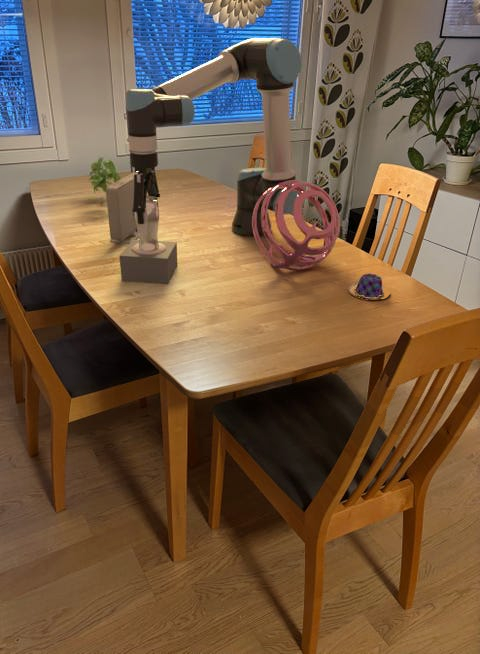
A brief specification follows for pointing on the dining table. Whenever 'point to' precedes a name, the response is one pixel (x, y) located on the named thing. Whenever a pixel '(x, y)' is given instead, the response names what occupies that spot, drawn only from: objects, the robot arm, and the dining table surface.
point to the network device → (121, 210)
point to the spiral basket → (310, 232)
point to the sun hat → (369, 286)
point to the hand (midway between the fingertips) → (148, 226)
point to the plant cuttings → (103, 175)
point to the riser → (149, 263)
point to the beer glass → (150, 226)
